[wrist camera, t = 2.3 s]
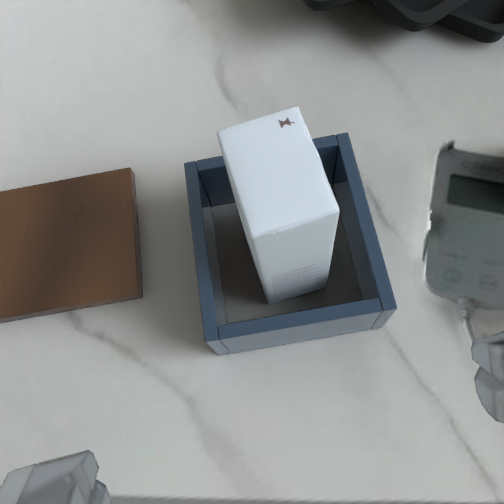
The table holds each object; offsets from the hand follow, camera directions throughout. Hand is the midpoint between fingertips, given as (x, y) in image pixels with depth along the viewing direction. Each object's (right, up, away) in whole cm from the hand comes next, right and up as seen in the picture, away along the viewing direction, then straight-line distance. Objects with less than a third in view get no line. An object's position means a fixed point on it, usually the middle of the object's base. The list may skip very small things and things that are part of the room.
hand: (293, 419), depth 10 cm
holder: (+1, +3, +22) cm, 22 cm away
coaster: (-15, +4, +24) cm, 29 cm away
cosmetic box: (+1, +3, +22) cm, 23 cm away
